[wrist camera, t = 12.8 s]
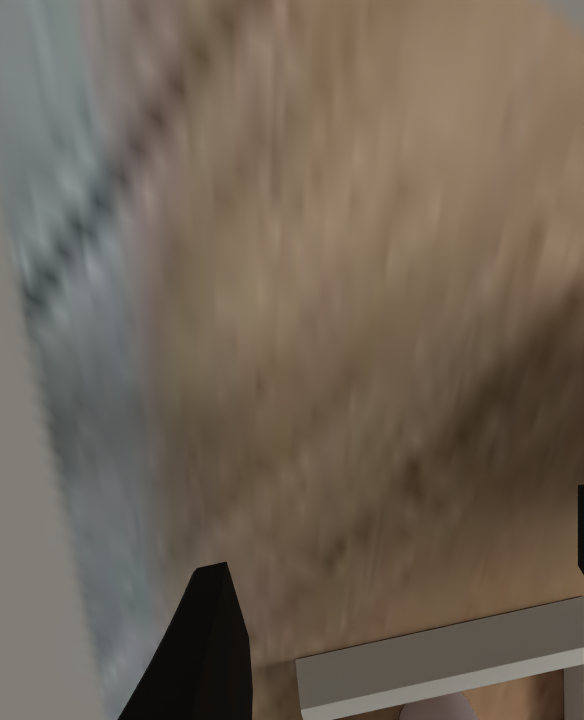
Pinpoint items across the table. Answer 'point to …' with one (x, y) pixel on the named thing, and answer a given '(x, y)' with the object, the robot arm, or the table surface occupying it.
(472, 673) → the white shallow square frame
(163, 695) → the robot arm
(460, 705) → the smoothie
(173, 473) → the table surface
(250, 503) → the table surface
